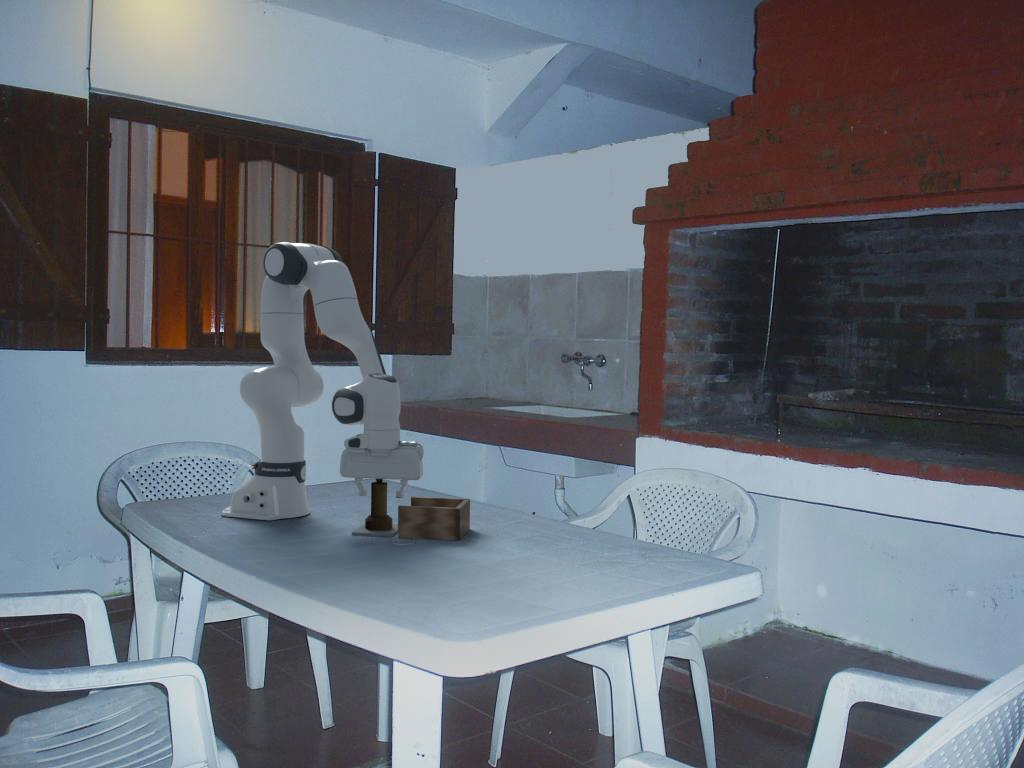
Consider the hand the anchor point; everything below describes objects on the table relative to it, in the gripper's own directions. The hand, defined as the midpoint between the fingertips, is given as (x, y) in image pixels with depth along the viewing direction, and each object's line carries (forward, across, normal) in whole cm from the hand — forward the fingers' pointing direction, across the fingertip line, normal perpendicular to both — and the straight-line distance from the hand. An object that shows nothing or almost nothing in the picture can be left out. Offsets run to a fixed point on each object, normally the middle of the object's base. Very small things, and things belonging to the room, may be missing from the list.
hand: (381, 496), depth 216 cm
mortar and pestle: (+8, 0, 0) cm, 8 cm away
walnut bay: (+8, -13, 0) cm, 15 cm away
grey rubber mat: (+8, 0, 0) cm, 8 cm away
